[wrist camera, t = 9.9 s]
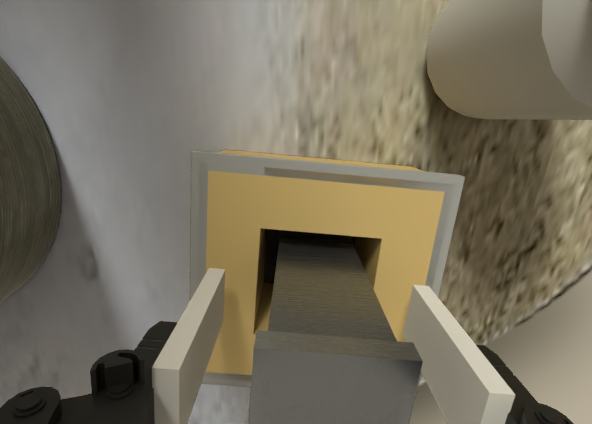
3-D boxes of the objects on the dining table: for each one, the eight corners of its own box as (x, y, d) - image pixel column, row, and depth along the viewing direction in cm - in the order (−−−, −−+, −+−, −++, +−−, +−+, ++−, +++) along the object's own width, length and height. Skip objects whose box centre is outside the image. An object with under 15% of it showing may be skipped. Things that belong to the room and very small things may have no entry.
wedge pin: (278, 210, 23) (253, 348, 9) (347, 216, 23) (423, 361, 9) (273, 273, 24) (244, 476, 10) (338, 279, 24) (394, 487, 10)
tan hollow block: (213, 320, 25) (188, 382, 19) (219, 142, 21) (191, 151, 16) (387, 334, 25) (415, 399, 19) (419, 161, 22) (465, 176, 16)
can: (396, 39, 20) (536, -71, 8) (511, -51, 19) (861, -321, 7) (459, 143, 22) (651, 172, 10) (569, 67, 20) (931, 0, 9)
